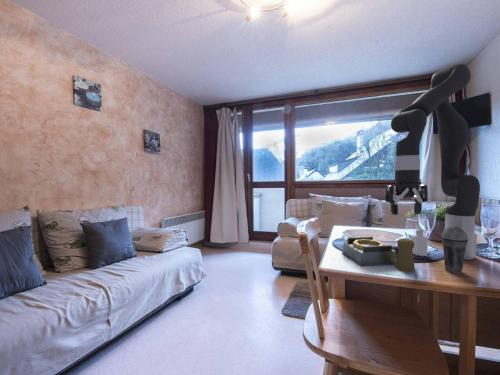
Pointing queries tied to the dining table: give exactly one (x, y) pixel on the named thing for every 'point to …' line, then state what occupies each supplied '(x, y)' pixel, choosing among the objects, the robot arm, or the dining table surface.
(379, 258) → the grey peg socket base
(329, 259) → the dining table surface
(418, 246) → the eye dropper bottle
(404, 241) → the cork
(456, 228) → the beverage cup
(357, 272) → the dining table surface
